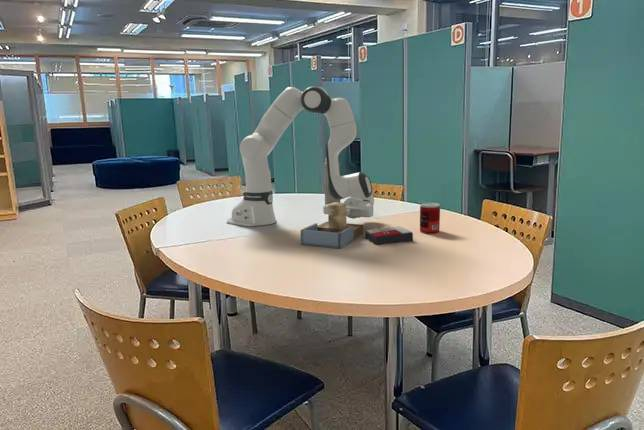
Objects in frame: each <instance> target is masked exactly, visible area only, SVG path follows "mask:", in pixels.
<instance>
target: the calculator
mask: <svg viewBox="0 0 644 430" xmlns="http://www.w3.org/2000/svg"><path fill="white" fill-rule="evenodd" d="M364 232H365V233H364V235H365V239H366V240H368V241H369V242H371V243H372V244H374V245H375V246H378V245H379V246H381V245H389V244H396V243H397V244H398V243H408V242H414V232H413V231H410V230H409V229H407V228H405V227H403V226H401V225H398V226H397V225H396V226H386V227H380V228H374V229H367V230H366V231H364Z"/></svg>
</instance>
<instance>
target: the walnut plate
mask: <svg viewBox="0 0 644 430" xmlns="http://www.w3.org/2000/svg"><path fill="white" fill-rule="evenodd" d="M350 226H353V241H352V242H354V241H355V240H357V239H358V238H360V237H362V236H363V235H364V224H360V223H348V222H347V226H345V227H343V228H341V229H336V228H329V225H328V221H324V222H323V223H320V224H319V225H318V224H317V228H318V231H323V232H334V233H340V232H341V231H343V230H345V229H347V228H349V227H350Z"/></svg>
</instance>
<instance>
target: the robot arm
mask: <svg viewBox="0 0 644 430" xmlns="http://www.w3.org/2000/svg"><path fill="white" fill-rule="evenodd" d="M302 110H305V111H306V112H308V113H311V114H316V115H317V114H321V115H322V114H323V115H325V118H326V119H327V123H328V127H329V139H328V140H327V141H326V143H325V154H326V155H325V158H326V159H327V171H328V192H329V194H330V196H331V197H333V198H334V199H336V200H340V201H341V200H343V199H345V200H344V201H343V203H346V218H349V219H352V220H353V219H357V218H358V219H360V218H372V217H374V204H375V197H374V195H373V194H372V192H373V188H372V187H373V186H372V182H371V179H370V177H369V176H368V175H367V174H366V173H364V172H363V171H359V172H354V173H350V174H345V175H341V174H340V175H339V167H338V162H339V155H340V153H341V152H342V151H343V150H345V148H347V147H348V146H349V145H351V144H352V143H353V141H354V140H355V138H356V137H357V133H358V132H357V130H358V129H357V124H356V121H355V118H354V117H355V116H354V114H353V111H352V107H351V105H350V103H349V101H348V100H347V99H346V98H344V97H334V98H332V97H331V96H330V93H329V92H328V91H327V90H326V89H325V88H324V87H321V86H319V85H318V86H317V85H315V86H314V85H313V86H309V87H307V88H305V89H304V90H303V91H302V90H300V89H299V88H297V87H294V86H288V87H286V88H285V89H284V90H283V91H282V92H281V93H280V94H279V95H278V96H277V97H276V99H274V101H273V103H272V104H271V105H270V106H269V107H268V109H267V111H266V112H265V113H264V114H263V116H262V117H261V120H260V122H259V124H258V125H257V127H256V128H255V130H254V132H253V133H252V134H250V135H249V134H248V135H247V136H245V137H244V138H243V139H242V141H241V142H240V144H239V153H240V155H241V159H242V166H243V169H244V175H245V191H244V192H243V193H241V197H243V198H242V200H241V201H240V202H239V203H237V205H235V206H234V207H233V208H232V210H231V217H230V218H228V219H227V220H226V224H229V225H230V224H231V225H237V226H244V227H255V226H257V227H259V226H267V225H273V224H275V223H276V222H277V219H276V215H275V212H274V211H275V209H274V205H273V203H274V198H273V197H274V195H273V190H272V180H271V179H272V178H271V177H272V175H271V174H272V173H271V170H270V166H269V161H268V156H270V154H271V152H272V151H273V149H274V148H275V147H276V145H277V144H278V143H279V140H280V139H281V138H282V136H283V134H284V132H286V130H287V129H288V127H289V126H290V125H291V124H292V122H293V121H294V119H295V118H296V116H297V115H298V114H299V113H300V112H301V111H302ZM328 205H329V204H327V205H325V204H324V205H323V208H322V211H323V214H324V215H328Z"/></svg>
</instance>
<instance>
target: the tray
mask: <svg viewBox="0 0 644 430" xmlns="http://www.w3.org/2000/svg"><path fill="white" fill-rule="evenodd" d="M317 226H318V223H315V222H314V223H313V224H310V225H308V226H305V227H304V228H301V229H300V245H301V246H311V247H321V248H330V249H342V248H344V247H346V246H348V245H349V244H351V243H352V242H354V241H353V226H350V227H349V228H347V229H345V230H343V231H341V232H340V233H334V232H323V231H318V228H317Z"/></svg>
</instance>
